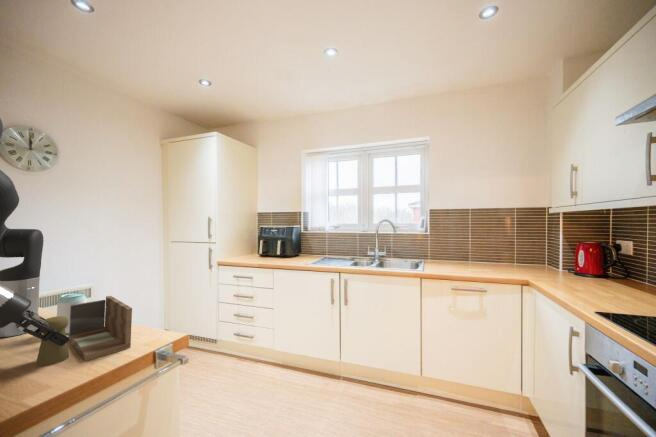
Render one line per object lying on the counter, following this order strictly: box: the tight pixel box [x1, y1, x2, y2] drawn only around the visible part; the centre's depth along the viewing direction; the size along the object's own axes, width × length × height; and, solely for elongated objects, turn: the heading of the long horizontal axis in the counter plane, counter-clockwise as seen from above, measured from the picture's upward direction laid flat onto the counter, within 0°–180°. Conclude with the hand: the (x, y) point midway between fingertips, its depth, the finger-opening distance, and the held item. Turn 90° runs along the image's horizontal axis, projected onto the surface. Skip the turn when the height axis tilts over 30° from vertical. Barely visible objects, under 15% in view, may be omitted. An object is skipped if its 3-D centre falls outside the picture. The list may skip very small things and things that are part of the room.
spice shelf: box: [67, 295, 133, 362], centre depth 81 cm, size 20×10×12 cm, turn 53°
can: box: [56, 292, 88, 335], centre depth 89 cm, size 7×7×12 cm
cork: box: [35, 315, 70, 367], centre depth 71 cm, size 6×6×11 cm
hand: (63, 339), depth 72 cm, fingers closed on cork, 4 cm apart
